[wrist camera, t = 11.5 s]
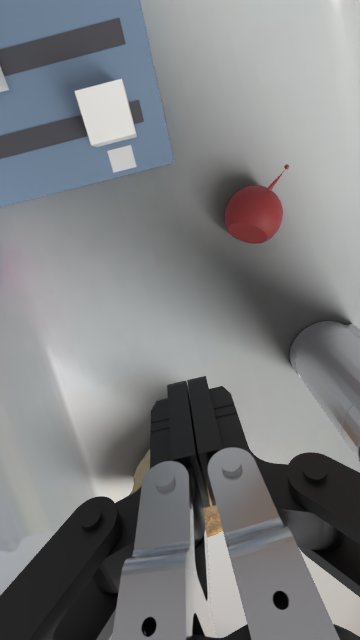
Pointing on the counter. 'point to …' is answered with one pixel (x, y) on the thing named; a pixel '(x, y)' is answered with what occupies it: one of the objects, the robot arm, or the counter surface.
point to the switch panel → (73, 94)
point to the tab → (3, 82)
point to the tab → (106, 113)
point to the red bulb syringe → (254, 213)
